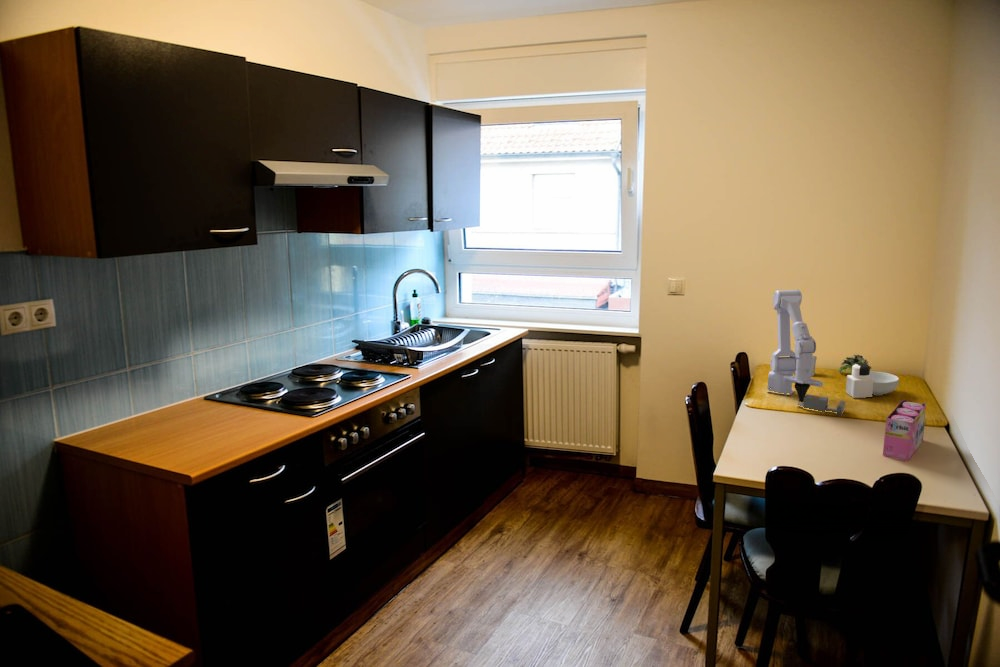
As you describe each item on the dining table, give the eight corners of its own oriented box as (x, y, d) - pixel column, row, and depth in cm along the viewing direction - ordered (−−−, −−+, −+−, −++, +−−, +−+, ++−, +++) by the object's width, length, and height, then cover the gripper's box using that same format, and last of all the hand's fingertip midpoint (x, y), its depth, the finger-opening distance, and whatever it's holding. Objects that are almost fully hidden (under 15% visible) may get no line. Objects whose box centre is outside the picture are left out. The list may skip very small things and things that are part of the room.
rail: (795, 409, 284) (796, 399, 283) (800, 404, 289) (800, 394, 288) (840, 416, 274) (841, 406, 273) (844, 411, 280) (845, 401, 279)
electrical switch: (792, 373, 329) (794, 354, 327) (795, 372, 333) (797, 352, 331) (813, 377, 323) (815, 356, 322) (816, 375, 327) (818, 355, 326)
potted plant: (855, 384, 328) (874, 364, 324) (855, 386, 318) (874, 366, 315) (834, 368, 332) (853, 348, 328) (834, 370, 322) (852, 349, 318)
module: (803, 409, 283) (804, 395, 282) (806, 405, 287) (807, 392, 286) (824, 412, 278) (825, 399, 277) (827, 409, 282) (828, 395, 281)
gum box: (899, 434, 255) (903, 398, 252) (924, 439, 250) (928, 402, 247) (881, 455, 238) (885, 417, 235) (908, 461, 233) (912, 422, 230)
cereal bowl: (873, 384, 310) (875, 368, 308) (906, 395, 295) (908, 379, 293) (843, 389, 304) (844, 374, 303) (875, 401, 289) (877, 384, 288)
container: (864, 392, 300) (866, 362, 297) (872, 398, 293) (875, 367, 290) (845, 392, 301) (847, 362, 298) (853, 398, 293) (855, 367, 290)
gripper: (781, 368, 283) (779, 401, 286) (820, 373, 275) (818, 407, 278) (786, 364, 288) (784, 396, 292) (825, 369, 280) (822, 402, 283)
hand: (801, 401), depth 285 cm, fingers closed
